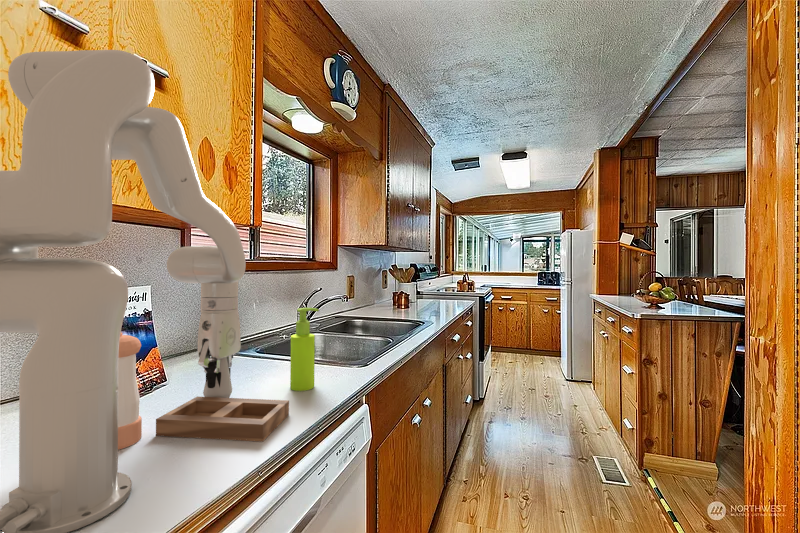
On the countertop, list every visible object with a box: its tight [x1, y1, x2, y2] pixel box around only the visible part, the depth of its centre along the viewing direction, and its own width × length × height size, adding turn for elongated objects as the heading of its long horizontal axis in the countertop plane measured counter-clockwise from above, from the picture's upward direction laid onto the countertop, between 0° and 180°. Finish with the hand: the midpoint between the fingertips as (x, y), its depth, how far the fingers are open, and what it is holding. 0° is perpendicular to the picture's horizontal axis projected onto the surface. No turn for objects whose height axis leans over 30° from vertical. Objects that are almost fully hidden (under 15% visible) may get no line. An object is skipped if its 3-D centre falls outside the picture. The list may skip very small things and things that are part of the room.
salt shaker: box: [202, 355, 233, 398], centre depth 85 cm, size 6×6×13 cm
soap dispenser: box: [289, 307, 320, 392], centre depth 98 cm, size 6×7×20 cm
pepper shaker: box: [118, 331, 143, 451], centre depth 67 cm, size 7×7×19 cm
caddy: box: [155, 396, 290, 443], centre depth 74 cm, size 12×20×3 cm, turn 85°
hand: (218, 387), depth 85 cm, fingers closed on salt shaker, 3 cm apart
